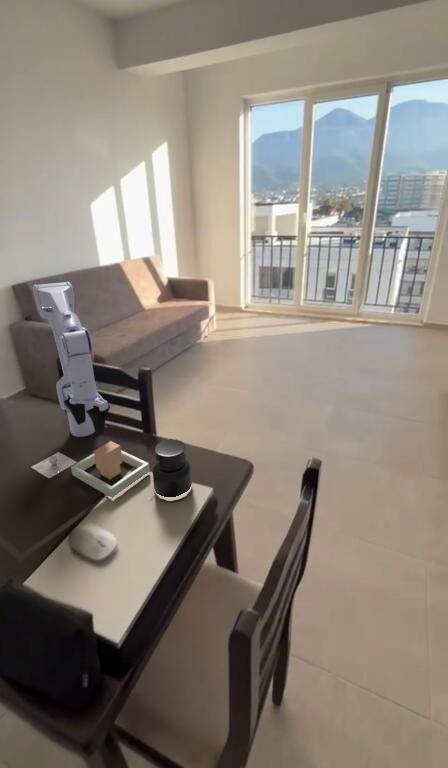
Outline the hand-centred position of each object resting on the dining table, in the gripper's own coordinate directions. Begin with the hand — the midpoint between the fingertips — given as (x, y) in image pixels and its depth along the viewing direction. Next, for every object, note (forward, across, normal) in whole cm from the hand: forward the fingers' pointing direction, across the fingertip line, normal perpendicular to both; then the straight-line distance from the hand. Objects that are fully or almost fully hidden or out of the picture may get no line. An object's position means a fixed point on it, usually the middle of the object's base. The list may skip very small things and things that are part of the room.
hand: (90, 427), depth 100 cm
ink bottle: (+10, +26, +2) cm, 28 cm away
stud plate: (+9, -5, -9) cm, 14 cm away
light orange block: (+9, +10, -3) cm, 14 cm away
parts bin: (+9, +10, -3) cm, 14 cm away
